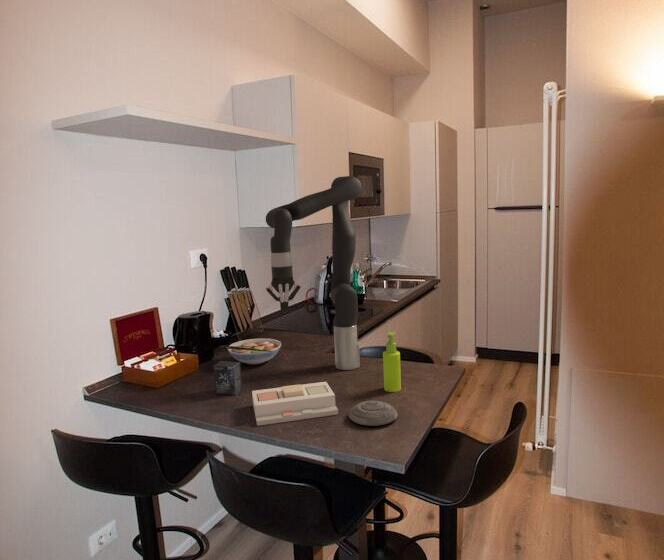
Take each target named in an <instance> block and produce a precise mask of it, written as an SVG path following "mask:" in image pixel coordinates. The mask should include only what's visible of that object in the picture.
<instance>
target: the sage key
mask: <svg viewBox="0 0 664 560" xmlns="http://www.w3.org/2000/svg"><path fill="white" fill-rule="evenodd" d="M306 391H307V393H308V395H311V394H319V393H326V392H327V390H326V389H325V387H324V386H318V387H310V388H306Z"/></svg>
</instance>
